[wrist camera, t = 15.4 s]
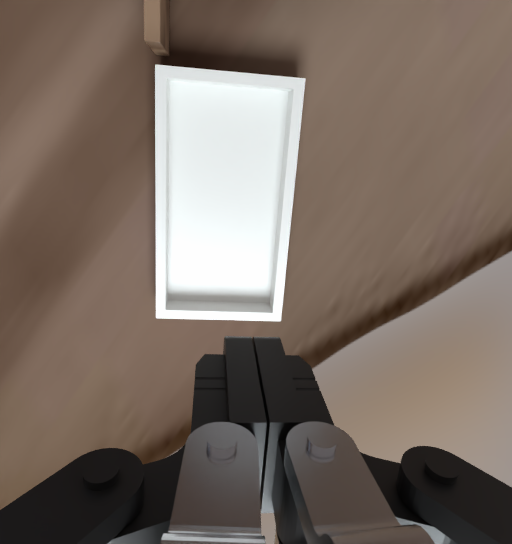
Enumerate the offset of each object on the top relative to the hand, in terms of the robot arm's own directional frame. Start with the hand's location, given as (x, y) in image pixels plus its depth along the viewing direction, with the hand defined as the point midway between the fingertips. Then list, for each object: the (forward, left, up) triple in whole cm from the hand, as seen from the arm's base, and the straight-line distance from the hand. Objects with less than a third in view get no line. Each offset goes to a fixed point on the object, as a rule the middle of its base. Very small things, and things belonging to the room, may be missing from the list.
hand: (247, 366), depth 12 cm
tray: (0, 0, -27) cm, 27 cm away
